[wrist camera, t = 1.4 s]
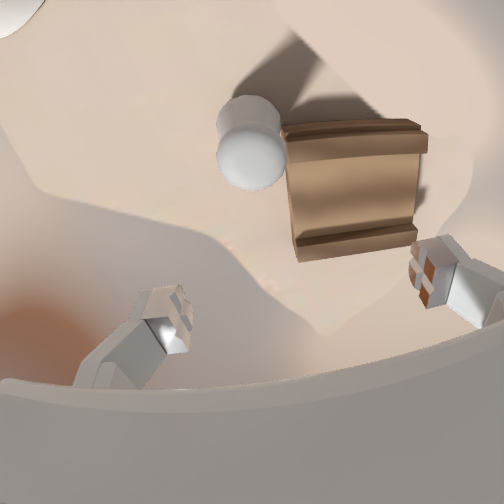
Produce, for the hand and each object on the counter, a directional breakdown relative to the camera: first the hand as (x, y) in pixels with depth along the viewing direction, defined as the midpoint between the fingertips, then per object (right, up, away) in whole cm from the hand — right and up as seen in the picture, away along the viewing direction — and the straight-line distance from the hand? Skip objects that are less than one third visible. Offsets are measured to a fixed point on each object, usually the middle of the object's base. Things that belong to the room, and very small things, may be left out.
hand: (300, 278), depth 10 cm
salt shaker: (-2, +14, +17) cm, 22 cm away
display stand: (+9, +9, +21) cm, 25 cm away
